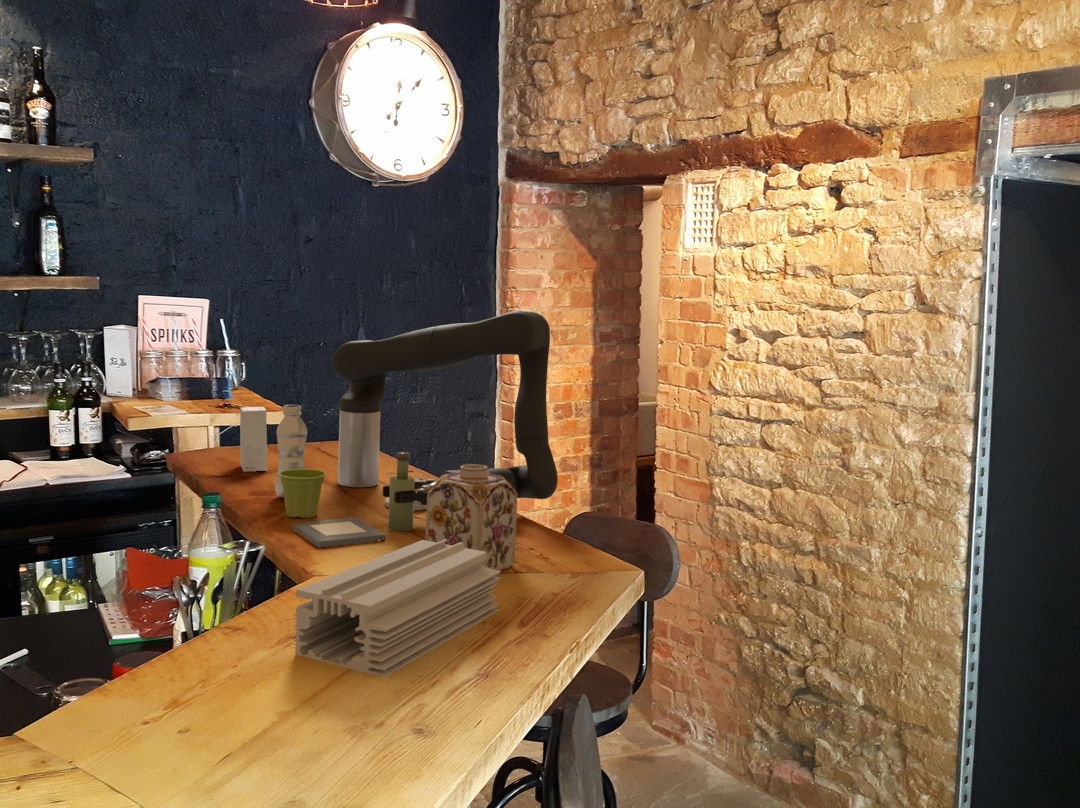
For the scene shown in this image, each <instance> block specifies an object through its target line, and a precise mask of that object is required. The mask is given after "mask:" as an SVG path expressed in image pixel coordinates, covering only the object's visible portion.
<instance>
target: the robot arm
mask: <svg viewBox="0 0 1080 808" xmlns="http://www.w3.org/2000/svg"><path fill="white" fill-rule="evenodd" d="M550 342H551V328H550V325H549V323H548V320H547V319H546V318H545V317H544V316H543V314H540V313H538V312H535V311H526V310H514V311H509V312H506V313H504V314H500V315H498V316H494V317H491V318H487V319H483V320H480V321H476V322H467V323H466V322H465V323H461V322H459V323H451V324H450V323H449V324H443V325H442V324H441V325H436V326H431V327H425V328H422V329H417V330H413V331H409V332H405V333H402V334H399V335H395V336H393V337H389V338H385V339H380V340H369V339H364V340H363V339H362V340H351V341H348V342H345V343H343V344H341V345H340V346H339V347H338V348H337V349H336V351H335V352H334V353H333V357H332V368H333V369H334V372H335V373H336V374H337V375H338V376H339V378H341V379H343V380H345V381H348V382H350V385H349V388H348V390H347V391H346V392H345V393H344V394H343V395H342V396H341V398H340V400H339V422H338V426H339V427H338V428H339V429H338V467H337V484H338V485H340V486H341V487H348V488H368V487H369V488H370V487H375V486H377V485H378V484H379V470H380V469H379V466H380V439H381V438H380V437H381V433H380V432H381V431H380V430H381V406H382V402H383V400H384V397H385V391H386V380H387V379H386V378H387V373H394V372H402V373H403V372H421V371H432V370H439V369H445V368H446V369H447V368H450V367H454V366H459V365H461V364H463V363H466V362H469V361H470V360H473V359H476V358H479V357H486V356H496V355H510V356H511V355H512V356H513V355H514V356H518V361H519V370H520V372H519V376H520V378H519V387H518V392H517V394H516V395H517V397H516V400H515V405H514V414H513V416H514V417H513V418H514V419H513V423H514V439H515V449H516V450H517V452H518V453H519V454H522V455H523V456H524V459H525V463H526V464H525V465H524V464H523V465H516V466H510V467H505V468H504V467H495V468H487V469H488V473H490V474H494V475H499V476H502V477H504V478H505V480H506V481H508V482H509V483H510V484H511V486H512V487H513V488H514V489H515V491H516V492H517V499H534V500H535V499H537V500H546V499H549V498H550V497H552V496H553V495H554V494H555V492H556V489H557V486H558V477H559V476H558V470H557V467H556V463H555V460H554V456H553V452H552V450H551V448H550V447H551V446H550V444H549V427H548V425H549V424H548V410H547V408H548V407H547V386H548V385H547V383H548V366H549V354H550V344H551V343H550ZM456 472H460V469H452V470H445V471H443V472H442V473H441V474H440V476H439V478H440V477H441V476H442V475H445V474H450V473H456ZM436 482H437V481H436V480H435V479H434V478H433V479H432V478H427V479H425V480H424V478H423V477H416V478H415V485H414V492H413V490H408V491H396V492H395V493H394V502H396V503H407V502H413V501H414V503H421V505H427V501H428V491H429V490H430V489H431V488H432V487H433V486H434V484H435V483H436ZM389 491H390V484H388V485H387V484H386V485H383V486H382V496H383V497H384V498H388V497H389Z"/></svg>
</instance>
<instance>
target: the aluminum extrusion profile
mask: <svg viewBox="0 0 1080 808" xmlns="http://www.w3.org/2000/svg"><path fill="white" fill-rule="evenodd" d="M445 541H447V539H444V540H442V541H439V542H437V543H436V542H431V541H426V540H425V539H421V540H419V541H416V542H414V543H411V544H408V545H406V546H403V547H401V548H399V549H396V550H394V551H391V552H389V553H386V554H383V555H381V556H378V557H376V558H373V559H371V560H368V561H366V562H364V563H360V564H358V565H355V566H353V567H350V568H348V569H346V570H342V571H341V572H338V573H336V574H333V575H331V576H330V575H329V576H328V577H325V578H324V579H320V580H318V581H316V582H313V583H310V584H308V585H305V586H303V587H300V588H298V589H296V590H295V591H296V592H295V595H296V597H297V598H300V599H305V600H309V601H308V602H305V603H303V604H300V605H298V606H297V607H296V608H295V616H296V617H295V623H296V624H295V631H296V632H295V640H294V641H295V647H294V650H295V651H294V653H295V655H297V656H301V657H306V658H309V659H313V660H316V661H320V662H324V663H326V664H332V665H335V666H339V667H343V668H347V669H349V670H355V671H357V672H358V671H359V672H361V673H366V674H370V675H373V676H378V677H381V678H386V677H388V676H389V675H391V674H393V673H394V672H396V671H398V670H400V669H402V668H403V667H405V666H407V665H409V664H410V663H411V662H414V661H416V660H417V659H418V658H421V657H422V656H424V655H426V654H427V653H429V652H430V651H432V650H434V649H436V648H438V647H439V646H441V645H443V644H444V643H446V642H448V641H450V640H451V639H453V638H455V637H457V636H458V635H460V634H461V633H463V632H465V631H467V630H469V629H470V628H473V627H475V625H477V624H479V623H481V622H482V621H484V620H485V619H487V618H489V617H491V616H493V615H494V614H496V613H497V611H498V612H499V609H498V608H497V609H496V607H498V606H500V603H499V602H496V601H493V600H495V599H497V595H493V594H491V593H493V592H494V591H495V590H494V587H497V585H498V583H497V581H500V580H501V577H500V576H497V575H499V574H500V573H502V571H498V570H495V569H494V570H493V569H491V568H486V567H484V566H482V561H484V560H486V559H487V552H484V551H479V550H473V549H468V548H465V547H464V545H463V542H459V543H457V544H455V545H447V544H445Z"/></svg>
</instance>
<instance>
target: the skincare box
mask: <svg viewBox="0 0 1080 808" xmlns="http://www.w3.org/2000/svg"><path fill="white" fill-rule="evenodd" d="M239 411H240V412H239V413H240V416H239V417H240V418H239V420H240V421H239V428H240V429H239V431H240V432H239V433H240V434H239V438H240V439H239V441H240V442H239V443H240V445H239V446H240V447H239V449H240V452H239V453H240V467H241V470H242V471H243V472H244V473H245V472H256V471H266V472H268V436H267V435H268V433H267V427H268V426H267V424H268V423H267V410H266V408H265V407H264V406H245V407H244V406H243V407H240V409H239Z"/></svg>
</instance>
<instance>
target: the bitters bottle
mask: <svg viewBox="0 0 1080 808" xmlns="http://www.w3.org/2000/svg"><path fill="white" fill-rule="evenodd" d="M410 455H411V453H410V452H407V451H398V452H396V456H395V458H396V459H397V460H396V475H394V476H391V477H390V478H389V485H390V491H389V508H388V528H389V529H391V530H390V531H392V530H396V531H395V532H398V531H405V532H410V530H411V531H412V529H413V530H414V512H415V511H414V501H413V502H407V503H396V502H394V493H395V492H396V491H408V490H413V492H414V485H415V479H416V478H415V477H412V476H409V461H410V458H411V456H410ZM389 529H388V530H389Z"/></svg>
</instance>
